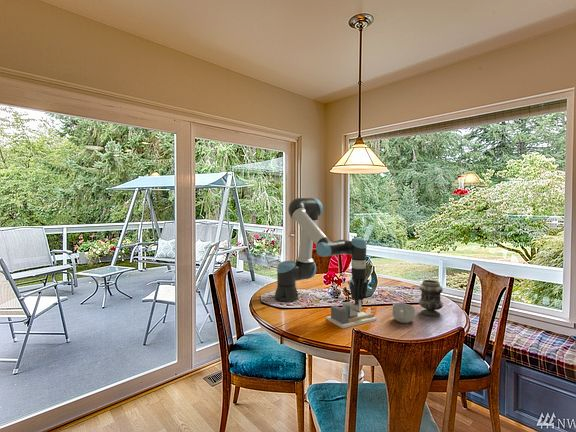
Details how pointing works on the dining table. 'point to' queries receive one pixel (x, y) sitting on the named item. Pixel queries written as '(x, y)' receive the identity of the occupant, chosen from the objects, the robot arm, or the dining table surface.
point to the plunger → (351, 309)
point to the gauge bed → (341, 317)
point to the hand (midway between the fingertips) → (358, 311)
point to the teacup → (403, 312)
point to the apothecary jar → (430, 297)
